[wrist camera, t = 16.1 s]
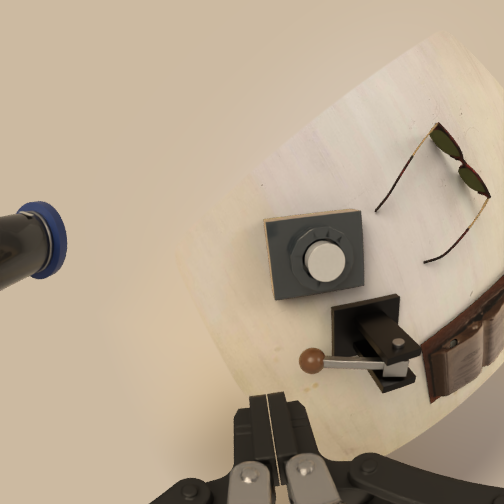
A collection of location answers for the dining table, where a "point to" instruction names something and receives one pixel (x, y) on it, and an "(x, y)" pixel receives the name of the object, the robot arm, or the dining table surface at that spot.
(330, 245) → the white push button
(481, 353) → the book
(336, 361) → the flush lever
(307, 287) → the button housing
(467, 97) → the dining table surface
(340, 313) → the lever bracket
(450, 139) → the sunglasses
